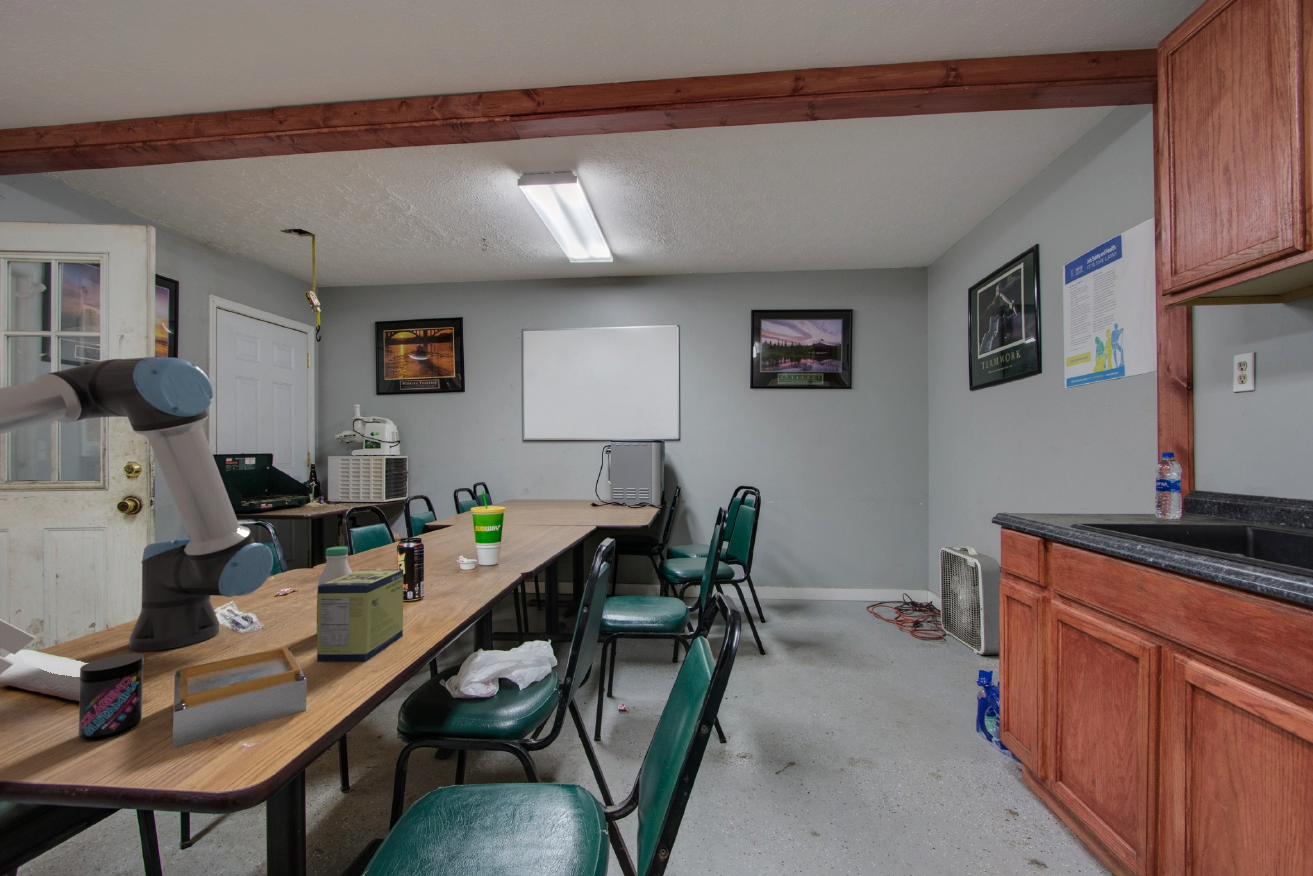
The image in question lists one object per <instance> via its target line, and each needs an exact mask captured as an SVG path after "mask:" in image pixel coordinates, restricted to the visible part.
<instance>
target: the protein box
mask: <svg viewBox="0 0 1313 876" xmlns="http://www.w3.org/2000/svg"><path fill="white" fill-rule="evenodd" d="M317 590H318V628H317V627H316V635H317V636H316V639H317V643H316V661H317V662H367V661H368V660H369V659H371V658H373V657H374V656H375V655H378V654H379V653H380V652H382V651H383V650H384V649H386V648H387V647H389V646H390V645H392V644H393V643H395V642H396V641H398V640H399V639H400V638H402V637H403V636H404V635H403V634H404V633H403V631H404V630H403V629H404V569H403V568H402V569H398V568H397V569H358V570H356V571H352V573H350V574H348V575H345V576H342V577H340V578H337V579H334V580H332V581H329V582H326V583H323V584H321V585H319V586H318V585H317Z"/></svg>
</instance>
